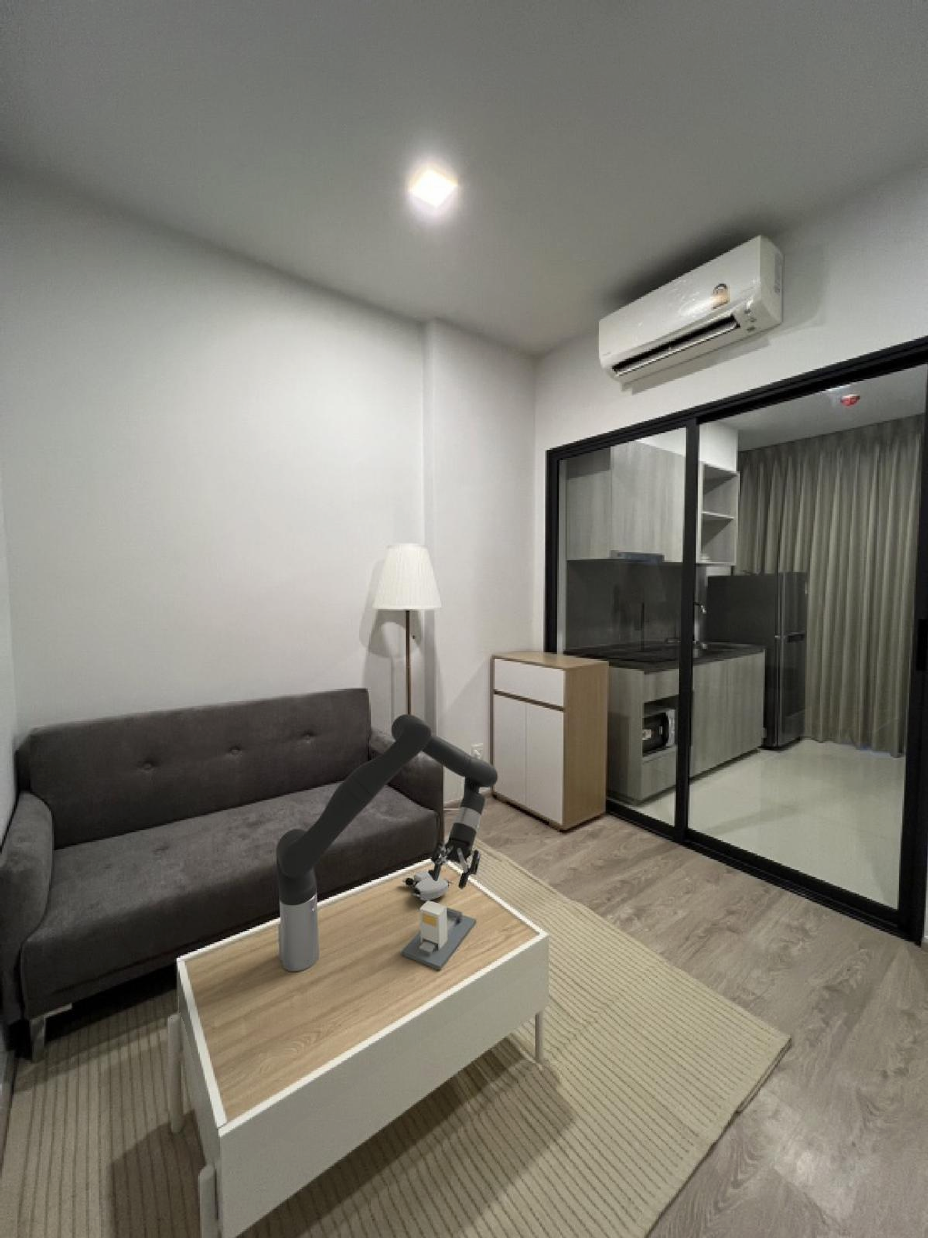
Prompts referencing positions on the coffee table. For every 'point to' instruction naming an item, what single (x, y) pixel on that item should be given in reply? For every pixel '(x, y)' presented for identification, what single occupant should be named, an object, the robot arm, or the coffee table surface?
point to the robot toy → (427, 885)
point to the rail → (452, 920)
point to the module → (433, 923)
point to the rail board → (446, 951)
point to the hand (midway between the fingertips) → (447, 884)
